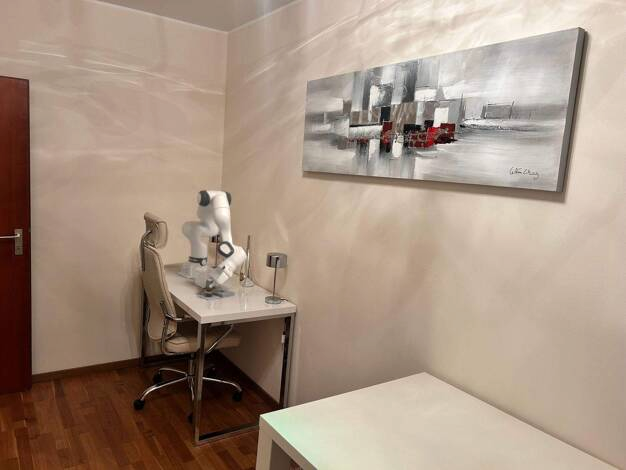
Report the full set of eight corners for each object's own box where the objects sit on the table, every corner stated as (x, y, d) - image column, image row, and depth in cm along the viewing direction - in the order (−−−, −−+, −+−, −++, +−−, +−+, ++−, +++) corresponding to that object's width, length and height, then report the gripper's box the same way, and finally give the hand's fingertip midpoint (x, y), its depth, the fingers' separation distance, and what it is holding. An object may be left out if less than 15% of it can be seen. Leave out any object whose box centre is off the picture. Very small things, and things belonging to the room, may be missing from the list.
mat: (196, 296, 288) (196, 295, 288) (208, 294, 295) (208, 293, 295) (208, 300, 282) (208, 299, 282) (219, 297, 289) (219, 297, 289)
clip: (212, 288, 299) (212, 287, 299) (210, 288, 297) (210, 287, 297) (205, 285, 303) (205, 284, 303) (202, 286, 301) (202, 285, 301)
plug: (202, 296, 288) (203, 279, 287) (208, 295, 292) (209, 278, 291) (208, 297, 286) (209, 280, 284) (214, 296, 289) (215, 279, 288)
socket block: (206, 293, 298) (206, 288, 297) (218, 290, 306) (218, 286, 306) (222, 298, 290) (222, 293, 289) (234, 295, 298) (234, 290, 297)
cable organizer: (218, 288, 312) (220, 270, 310) (203, 289, 305) (205, 271, 304) (208, 283, 323) (209, 266, 322) (193, 284, 317) (194, 267, 315)
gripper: (218, 261, 299) (201, 277, 296) (225, 269, 280) (207, 285, 277) (224, 269, 301) (208, 284, 298) (233, 276, 282) (215, 293, 280)
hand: (208, 285), depth 288 cm, fingers open, 8 cm apart
